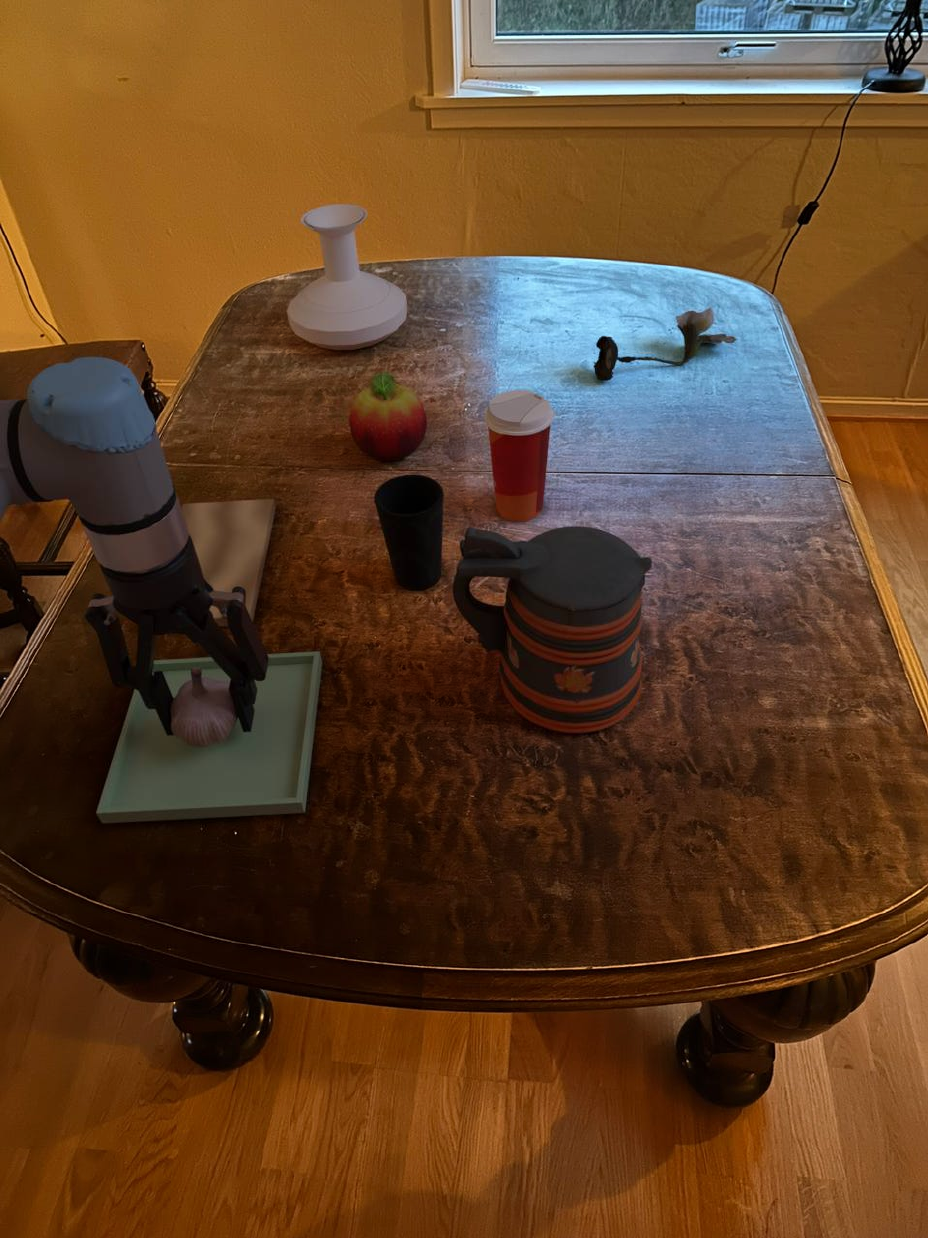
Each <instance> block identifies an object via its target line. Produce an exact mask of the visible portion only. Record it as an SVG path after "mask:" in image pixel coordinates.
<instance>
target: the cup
mask: <svg viewBox="0 0 928 1238" xmlns="http://www.w3.org/2000/svg"><path fill="white" fill-rule="evenodd" d="M444 494H445V493H444V488H443V487H442V486H441V484H440V483H439V482H438V481H437V480H436V479H434V478H432V477H429V476H427V475H423V474H415V473H414V474H402V475H398V476H395V477H391V478H390V479H388V480H386V481H384V482H383V483H382V484H381V485H379V486H378V488H377V489H376V491H375V493H374V496H373V499H374V505H375V509H376V512H377V516H378V519H379V524H380V527H381V531H382V534H383V538H384V542H385V546H386V550H387V553H388V557H389V561H390V564H391V568H392V573H393V576H394V580H395V581H396V584H397V585H398V586H400V587H401V588H403V589H404V590H408V591H411V592H419V591H420V592H421V591H425V590H428V589H430V588H433V587H434V586H436V585H437V584H438V583H439V582H440V580H441V578H442V566H443V565H442V563H443V532H444V531H443V529H444V526H443V525H444Z"/></svg>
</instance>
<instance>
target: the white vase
mask: <svg viewBox="0 0 928 1238" xmlns="http://www.w3.org/2000/svg"><path fill="white" fill-rule="evenodd" d="M368 215H369V212H368V211H367V210H366V209H365V208H364V207H362V206H359V205H356V204H346V203H341V204H340V203H339V204H337V203H336V204H328V205H323V206H319V207H316V208H313V209H310V210H308V211H307V212H305V213H304V214H302V216H301V218H300V222H301V224H302V225H303V226H305V227H306V228H308V229H309V230H311V231H313V232H315V233H316V234H318V237H319V243H320V244H319V245H320V248H321V250H320V251H321V256H322V261H323V267H324V274H323V275H322V276H320V277H318V278H317V279H315V280H313V281H312V282H310V283H308V284H307V285H306V286H305V287H304V288H303V289H302V290H300V292H299V293H298V294H296V295H295V297H293V298H292V299H291V300H290V301H289V305H288V307H287V310H286V314H287V315H286V316H287V319H288V324H289V326H290V328H291V329H292V331H293V333H294V334H295V335H296V336H298V337H299V338H301V339H302V340H305V341H307V342H308V343H311V344H313V345H315V346H317V347H319V348H321V349H327V350H333V351H355V350H359V349H360V350H361V349H363V348H367V347H372V346H374V345H376V344H378V343H381V342H383V341H385V340H386V339H387V338H389V337H390V336H391V335H392V334H393V333H395V332H396V331H397V330H398V329H399V328H400V327H401V326H402V324H404V323H405V322H406V320H407V314H408V302H407V301H408V300H407V295H406V294H405V293H404V292H403V290H402V289H401V288H400V287H399V286H398V285H395V284H394V283H392V282H390V281H388V280H386V279H385V278H382V277H380V276H378V275H375V274H373V273H370V272H366V271H363V270H360V264H359V255H358V248H357V241H356V233H355V230H356V229H357V228H358V227H359V226H360V224H362V223H363V221H365V220H366V219H367V217H368Z"/></svg>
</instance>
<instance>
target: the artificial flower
mask: <svg viewBox="0 0 928 1238" xmlns="http://www.w3.org/2000/svg"><path fill="white" fill-rule="evenodd" d="M675 321H676V323H677V325H676V327H677V329H678V330H679V331H680V332H681V334H682V336H683V342H684V353H683V359H682V361H674V360H669V359H661V358H658V357H652V356H643V357H642V356H638V357H637V356H631V355H627V356H622V357H620V356H619V348H618V345H617V343H616V342H615V340H614V339H613V337H612V336H607V335H602V336H601V337H599V338H598V340H597V341H596V343H595V347H596V348H597V349H599V352H598V357H597V361H593V362H592V363H593V364H594V365H593V366H592V367H593V371H594V375H595V377H596V379H597V380H599V381H604V382H608V381H610V380H612V379H613V378H614V376H613V375H614V372H613V371H614V370H615V367H616V364H617V362H618V361H619V362H620V363H625V364H626V363H627V364H629V363H632V362H634V361H644V362H645V361H648V362H651V361H654V362H659V363H662V364H668V365H674V366H684V365H685V364H686V363H688V362H689V361H690V360H692V359H693V358H695V357H697V355H698V353H699V349H700V346H701V345H702V344H705V343H712V344H717V345H720V344H723V342H724V343H726V344H734V343H735V341H737V340H738V339H737V338H736V337H735V336H733V335H729V336H727V335H726V333H717V334H711V333H707V334H705V333H706V332H707V331H708V330H709V329H710V328H711V327H712V326H713V325H714V321H715V314H714V311H713V308H712V306H710V307H709V308H707V309H705V310H703V311H700V312H697V311H695V310H687V311H686V312H684V313H682V314H680V315H676V316H675ZM702 333H703V334H702Z"/></svg>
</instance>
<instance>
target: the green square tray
mask: <svg viewBox="0 0 928 1238" xmlns="http://www.w3.org/2000/svg"><path fill="white" fill-rule="evenodd" d="M267 655H268V657H269V661H268V666H267V672H266V678H265V680H263V681H256V680H255V683H256V686H257V696H256V701H255V704H253V707H254V710H255V712H254V717H253V723H252V729H251V732H243V730H242V727H241V724H240V721H239V718H238V720H237V722H236V724H235V726H234V727H233V728H232V729H231V731H230V734H229V736H228V738H227V739H226V740H225V741H223V742H221V743H218V744H211V745H209V746H207V747H204V748H196V747H191V746H188V745H186V744H185V743H184V742H183V741H182V740H180V739H178V738H177V737H176V736H175V735H170V736H167V734H166V732H165V730H164V728H163V725H162V723H161V721H160V719H159V716H158V714H157V712H156V710H155V709H148V708H147V707H146V706H145V704H144V702H143V699H142V697H141V695H140V693H139V691H137V690H136V689H135V688H134V690H133V693H132V697H131V699H130V702H129V706H128V709H127V712H126V716H125V719H124V722H123V726H122V728H121V732H120V735H119V738H118V742H117V745H116V748H115V751H114V754H113V757H112V760H111V764H110V768H109V770H108V774H107V776H106V780H105V784H104V785H103V786H104V787H103V789H102V792H101V796H100V799H99V803H98V805H97V808H96V812H95V814H96V816H97V817H98V819H99V820H100V822H101V824H120V823H138V822H139V823H140V822H157V821H177V820H198V819H216V818H217V819H218V818H234V817H254V816H273V815H274V816H275V815H287V814H288V815H290V814H291V815H293V814H305V813H306V807H307V798H308V791H309V789H308V788H309V780H310V773H311V764H312V754H313V745H314V739H315V730H316V729H315V728H316V721H317V720H316V719H317V712H318V703H319V695H320V694H319V693H320V685H321V678H322V677H321V676H322V669H323V668H322V667H323V659H322V655H321V652H320V651H300V652H284V653H282V652H281V653H267ZM192 667H193V668H194V667H198V668H200V669H201V670H202V676H201V678H202V677H207V678H211V679H214V680H219V681H229V682H230V680H231V679H230V678H229V676H228V675H227V674H226V673H225V672H224V671H223V670H222V669H221V668H220V667H219V666H218V664H217V663H216V662H215V661H214V660H213V659H212V658H211V657H210V656H209V657H192V658H176V659H175V658H173V659H156V660H155V659H154V667H153V671H152V675H154V671H162V672H163V674H164V676H165V679H166V681H167V684H168V686H169V688H170V691H171V693H172V696H173V698H175V697H176V695H177V694H178V691H179V689H180V687H181V686H182V685H183V684H184V683H185V682H187V681H190V680H192V677H191V669H192Z"/></svg>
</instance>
